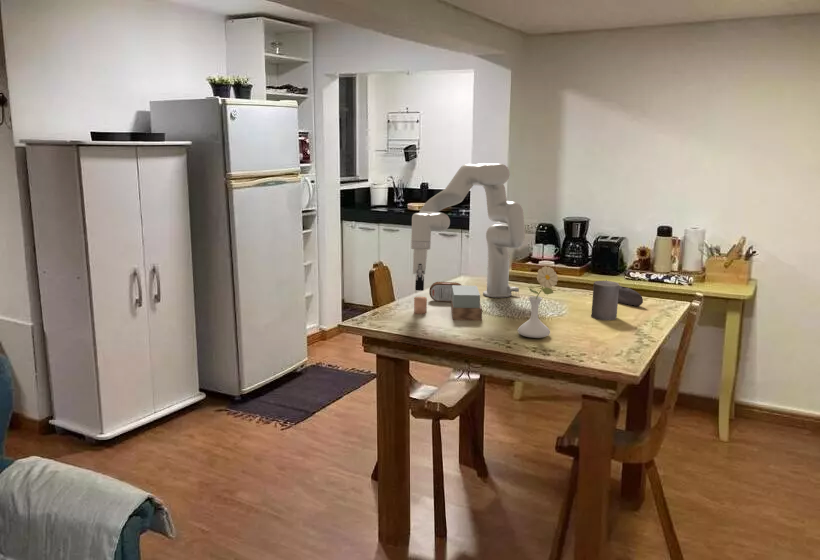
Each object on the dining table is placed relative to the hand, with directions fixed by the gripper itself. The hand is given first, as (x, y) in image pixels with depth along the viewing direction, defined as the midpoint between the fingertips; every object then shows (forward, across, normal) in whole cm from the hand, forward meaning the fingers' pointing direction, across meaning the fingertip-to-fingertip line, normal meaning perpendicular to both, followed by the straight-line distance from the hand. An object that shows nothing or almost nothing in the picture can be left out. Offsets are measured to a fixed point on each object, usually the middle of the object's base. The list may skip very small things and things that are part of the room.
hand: (419, 287), depth 263 cm
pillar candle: (+9, +2, +72) cm, 73 cm away
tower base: (+10, 0, +19) cm, 21 cm away
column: (+10, 0, 0) cm, 10 cm away
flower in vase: (+10, +30, +42) cm, 53 cm away
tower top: (+5, 0, +18) cm, 19 cm away
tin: (+10, -20, +12) cm, 26 cm away
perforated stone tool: (+9, -20, +88) cm, 91 cm away
